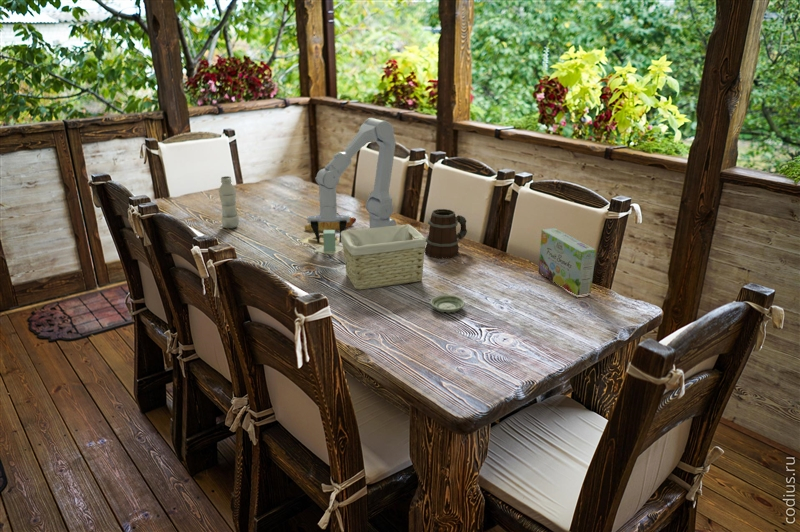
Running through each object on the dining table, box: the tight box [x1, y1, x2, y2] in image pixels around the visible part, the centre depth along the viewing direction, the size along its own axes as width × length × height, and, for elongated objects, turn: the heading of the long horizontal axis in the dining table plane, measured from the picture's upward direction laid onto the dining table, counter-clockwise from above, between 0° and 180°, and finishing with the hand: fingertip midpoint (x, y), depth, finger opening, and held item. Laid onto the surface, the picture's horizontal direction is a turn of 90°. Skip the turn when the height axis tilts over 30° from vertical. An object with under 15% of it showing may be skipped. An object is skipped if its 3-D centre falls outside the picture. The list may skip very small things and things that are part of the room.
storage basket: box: [340, 223, 427, 291], centre depth 188 cm, size 24×16×15 cm
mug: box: [424, 208, 468, 260], centre depth 210 cm, size 16×12×15 cm
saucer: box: [430, 294, 466, 314], centre depth 170 cm, size 10×10×2 cm
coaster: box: [314, 245, 344, 256], centre depth 213 cm, size 8×8×1 cm
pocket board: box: [298, 232, 342, 247], centre depth 221 cm, size 14×11×2 cm
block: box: [322, 230, 337, 251], centre depth 212 cm, size 4×4×6 cm
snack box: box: [538, 227, 597, 295], centre depth 184 cm, size 21×6×15 cm, turn 21°
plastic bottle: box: [218, 176, 240, 229], centre depth 232 cm, size 6×7×20 cm
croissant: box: [303, 212, 357, 232], centre depth 235 cm, size 21×10×8 cm, turn 118°
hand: (329, 241), depth 212 cm, fingers open, 7 cm apart
